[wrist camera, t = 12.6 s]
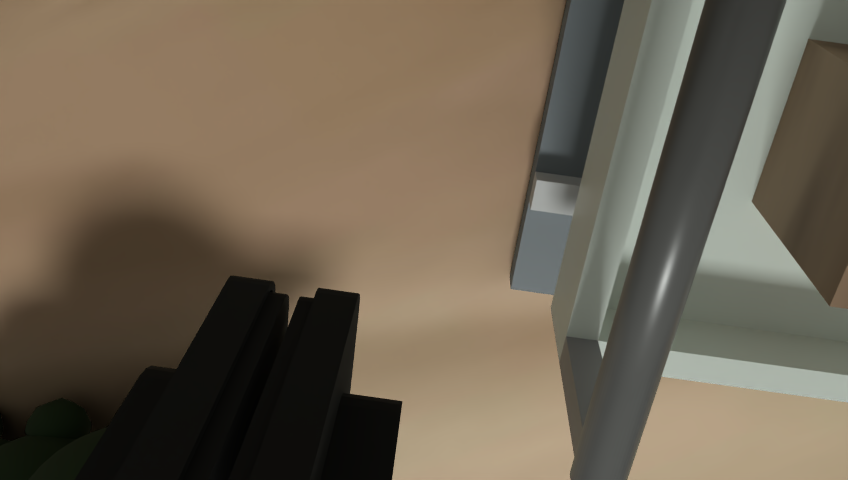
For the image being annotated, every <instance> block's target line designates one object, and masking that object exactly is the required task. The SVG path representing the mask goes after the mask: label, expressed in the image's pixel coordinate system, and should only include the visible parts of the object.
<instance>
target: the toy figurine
mask: <svg viewBox="0 0 848 480" xmlns="http://www.w3.org/2000/svg"><path fill="white" fill-rule="evenodd" d="M106 429H107V427H106V428H103V429H100V430H97V431H94V432H92V433H90V430H91V421H90V419H89V417H88V415H87V413H86V411H85V409H84V408H82V407H81V406H79V405H77V404H76V403H74V402H71V401H69V400H66V399H64V398H60V399H57V400H55V401H52V402H49V403H47V404H44V405H42V406H39V407H37V408H36V409H35V411H34V412H33V414H32V415H31V416H30V418H29V419H28V421H27V424H26V429H25V433H26V436H24V437H21V438H18V439H16V440H13V441H9V440H5V439H2V438H0V480H74V479H75V478H76V476H77V475H78V473H79V471H80V470H81V468H82V467H83V465H84V464H85V462H86V460H87V459H88V457H89V456H90V454H91V452H92V451H93V449H94V448H95V446H96V445H97V443H98V441H99V440H100V438H101V437H102V435H103V433H104V432H105V430H106ZM2 433H3V420H2V417H1V414H0V437H1V435H2Z"/></svg>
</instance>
